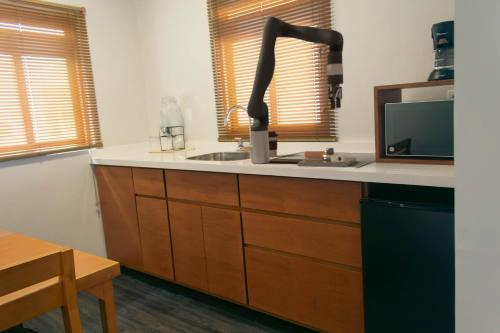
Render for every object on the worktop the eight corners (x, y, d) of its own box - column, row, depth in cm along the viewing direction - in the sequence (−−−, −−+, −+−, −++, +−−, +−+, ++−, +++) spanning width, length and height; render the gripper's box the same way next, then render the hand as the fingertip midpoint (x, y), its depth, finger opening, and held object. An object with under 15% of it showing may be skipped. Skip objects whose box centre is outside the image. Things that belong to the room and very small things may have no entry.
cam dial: (302, 159, 198) (302, 149, 197) (308, 157, 205) (307, 147, 204) (335, 159, 190) (335, 149, 189) (340, 157, 197) (340, 147, 196)
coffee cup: (282, 155, 239) (281, 130, 237) (272, 157, 232) (270, 132, 230) (269, 155, 246) (268, 131, 244) (259, 157, 239) (257, 132, 237)
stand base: (298, 166, 193) (297, 156, 192) (310, 161, 208) (310, 151, 207) (346, 166, 181) (346, 156, 181) (356, 161, 196) (356, 151, 195)
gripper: (332, 75, 198) (332, 108, 200) (322, 74, 185) (323, 109, 188) (347, 74, 194) (347, 107, 196) (338, 72, 182) (339, 108, 184)
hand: (335, 108), depth 192 cm, fingers open, 8 cm apart
